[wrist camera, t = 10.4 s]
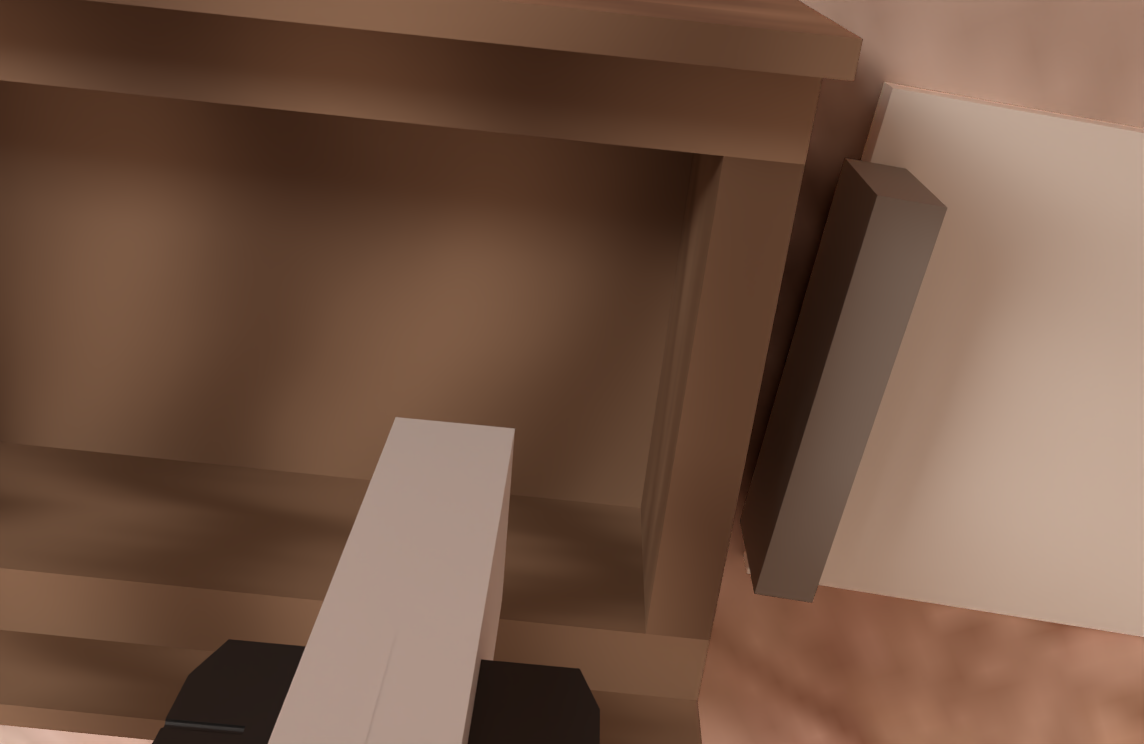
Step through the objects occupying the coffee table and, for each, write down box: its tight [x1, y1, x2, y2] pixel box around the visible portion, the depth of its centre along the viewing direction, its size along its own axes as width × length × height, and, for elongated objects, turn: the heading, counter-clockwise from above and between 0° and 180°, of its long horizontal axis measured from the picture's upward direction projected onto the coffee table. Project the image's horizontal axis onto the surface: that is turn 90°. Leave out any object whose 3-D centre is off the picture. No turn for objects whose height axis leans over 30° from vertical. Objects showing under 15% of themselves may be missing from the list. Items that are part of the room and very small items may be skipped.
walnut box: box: [0, 0, 863, 744], centre depth 18 cm, size 20×13×7 cm, turn 84°
